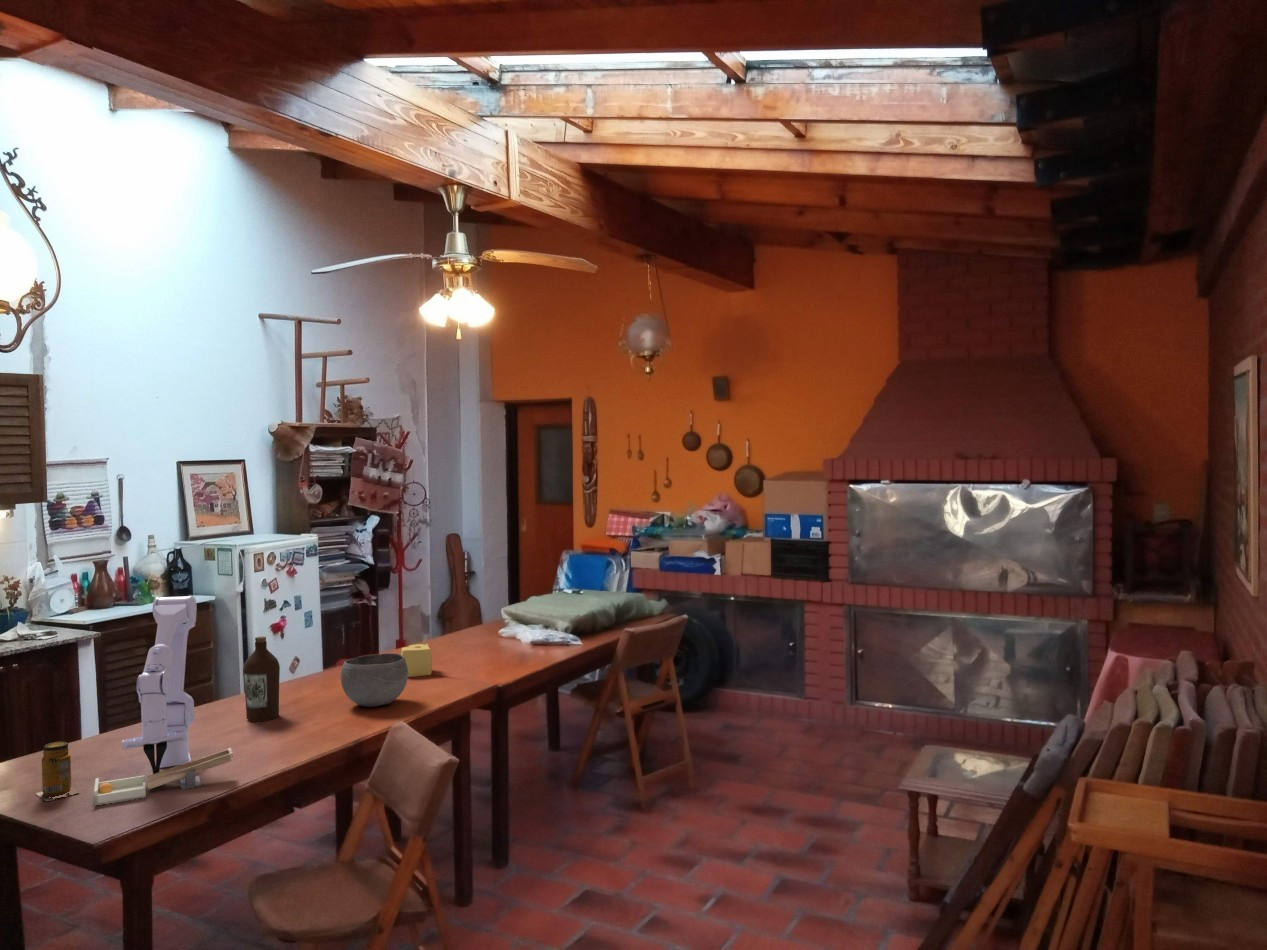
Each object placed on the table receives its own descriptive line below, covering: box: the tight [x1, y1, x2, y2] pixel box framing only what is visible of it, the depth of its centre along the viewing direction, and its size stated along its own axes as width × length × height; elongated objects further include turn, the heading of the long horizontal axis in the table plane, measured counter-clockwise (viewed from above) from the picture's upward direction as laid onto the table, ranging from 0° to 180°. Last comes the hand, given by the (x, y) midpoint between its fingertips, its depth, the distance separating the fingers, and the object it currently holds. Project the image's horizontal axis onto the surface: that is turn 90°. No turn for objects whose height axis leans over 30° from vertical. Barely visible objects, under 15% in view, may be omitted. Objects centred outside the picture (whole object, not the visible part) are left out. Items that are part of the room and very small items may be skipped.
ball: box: [98, 783, 113, 794], centre depth 230 cm, size 3×3×3 cm
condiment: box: [35, 741, 72, 802], centre depth 233 cm, size 7×8×12 cm
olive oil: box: [242, 636, 281, 722], centre depth 298 cm, size 11×11×25 cm
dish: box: [93, 775, 147, 807], centre depth 232 cm, size 10×11×4 cm
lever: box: [146, 747, 235, 790], centre depth 242 cm, size 11×20×2 cm, turn 118°
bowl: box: [340, 652, 409, 708], centre depth 311 cm, size 21×21×15 cm
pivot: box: [179, 770, 202, 790], centre depth 239 cm, size 7×4×4 cm, turn 27°
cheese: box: [400, 643, 433, 678], centre depth 354 cm, size 10×11×10 cm
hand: (156, 772), depth 242 cm, fingers closed
